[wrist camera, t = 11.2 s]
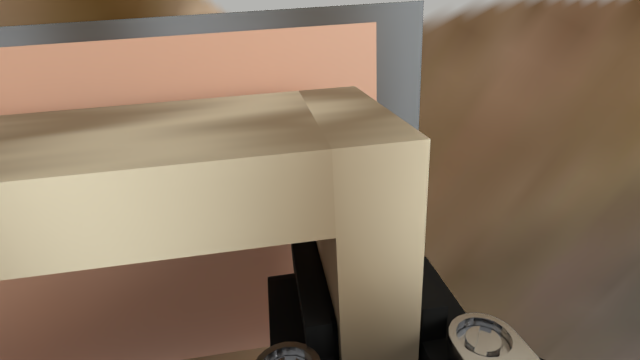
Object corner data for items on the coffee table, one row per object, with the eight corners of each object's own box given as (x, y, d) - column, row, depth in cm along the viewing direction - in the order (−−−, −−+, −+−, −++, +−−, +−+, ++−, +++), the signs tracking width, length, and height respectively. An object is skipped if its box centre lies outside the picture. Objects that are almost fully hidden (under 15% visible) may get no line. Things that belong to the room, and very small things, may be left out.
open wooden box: (354, 85, 10) (430, 139, 6) (360, 363, 14) (408, 525, 10) (-357, 144, 9) (-1043, 286, 4) (-130, 444, 13) (-353, 690, 8)
